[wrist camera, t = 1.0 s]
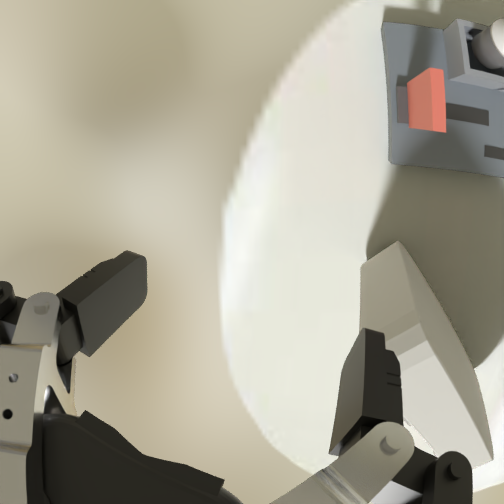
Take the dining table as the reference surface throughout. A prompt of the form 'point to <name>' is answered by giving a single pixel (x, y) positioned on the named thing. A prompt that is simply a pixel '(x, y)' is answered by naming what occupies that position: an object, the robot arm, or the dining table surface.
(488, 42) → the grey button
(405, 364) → the rounded white slab
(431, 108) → the red lever
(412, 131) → the console
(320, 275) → the dining table surface
